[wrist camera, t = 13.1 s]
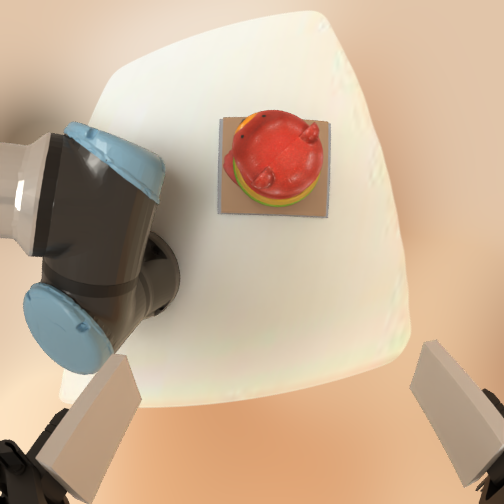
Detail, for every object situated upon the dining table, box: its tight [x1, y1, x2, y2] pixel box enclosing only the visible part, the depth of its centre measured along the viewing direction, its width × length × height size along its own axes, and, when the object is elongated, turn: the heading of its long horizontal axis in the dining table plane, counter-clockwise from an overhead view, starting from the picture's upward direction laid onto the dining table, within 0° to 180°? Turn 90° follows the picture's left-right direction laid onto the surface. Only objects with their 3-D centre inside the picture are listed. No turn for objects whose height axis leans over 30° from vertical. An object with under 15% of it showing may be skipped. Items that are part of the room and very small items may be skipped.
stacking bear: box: [223, 110, 323, 207], centre depth 26 cm, size 11×10×18 cm
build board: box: [218, 117, 331, 218], centre depth 37 cm, size 16×14×4 cm
